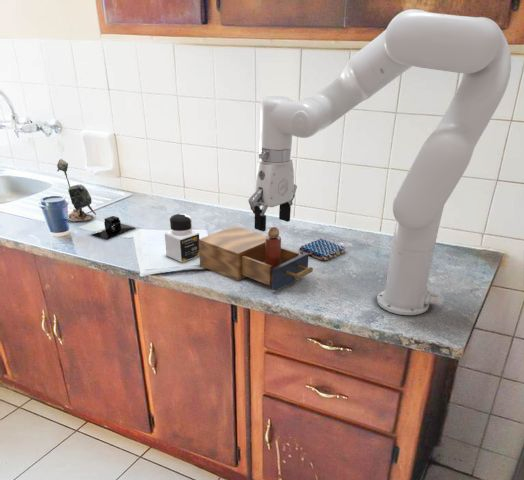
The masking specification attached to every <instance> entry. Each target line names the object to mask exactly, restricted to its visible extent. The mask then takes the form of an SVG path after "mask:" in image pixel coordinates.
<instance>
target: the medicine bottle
mask: <svg viewBox="0 0 524 480" xmlns="http://www.w3.org/2000/svg"><path fill="white" fill-rule="evenodd" d="M192 219H193V218H192V216H191V215H189V214H186V213H177V214H173V215H171V216H170V218H169V223H170V224H169V226H170V230H169V231H166V232H164V242H165V253H166V256H167V257H169V258H170V259H173V260H175V261H178V262H180V263H185V262H188V261H190V260H193V259H196V258H198V257H200V256H199V239H200V232H198V231H195V230H194V229H193V222H192Z"/></svg>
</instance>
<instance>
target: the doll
mask: <svg viewBox="0 0 524 480" xmlns="http://www.w3.org/2000/svg"><path fill="white" fill-rule="evenodd" d="M281 247H282V236H280V229H279V228H278V227H277V226H271V227H269V228H268V230H267V235H266V245H265V263H266V264H268V265H271V266H272V269H273V268H274V267H276V266H278V265H280V256H281Z"/></svg>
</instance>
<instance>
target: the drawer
mask: <svg viewBox="0 0 524 480" xmlns="http://www.w3.org/2000/svg"><path fill="white" fill-rule="evenodd" d="M309 256H310V255H309V254H308V253H301V254H300V253H299V252H297V251H296V250H295V251H294V250H291V249H289V248H285V247H282V246H281V256H280V265H278V266H276V267H274V268H273V269H272V266H271V265H268V264H266V263H265V246H262V247H260V248H258V249H255V250H253V251H251V252H248V253H246V254H244V255H241V256H240V261H241V275H244V276H246V278H249V279H252V280H254V281H257V282H259V283H262V284H265V285H268V286H271V290H272V291H274V292H276V291H279V290H280V289H282V288H284V287H286V286H287V285H290V284H291V283H294V282H295V281H298V280H299V279H302V278H303V277H306V276H307V275H309V274H311V273H313V271H314V269H313V267H312V266H309Z"/></svg>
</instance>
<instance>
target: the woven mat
mask: <svg viewBox="0 0 524 480" xmlns="http://www.w3.org/2000/svg"><path fill="white" fill-rule="evenodd" d="M298 248H299V249H298V250H299V252H300V253H301V254H303V253H308V254H309V256H312V257H313V258H314V259H318V260H320V261H329V259H332V258H337V256H340V255H341V254H345V252H346V251H345V250H346V248H345V246H343V245H339V244H336V243H334V242H331V241H327V240H326V239H323V238H319V239H316V240H313V241H311V242H308V243H306V244H304V245H303V244H302V245H300V247H298Z"/></svg>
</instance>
